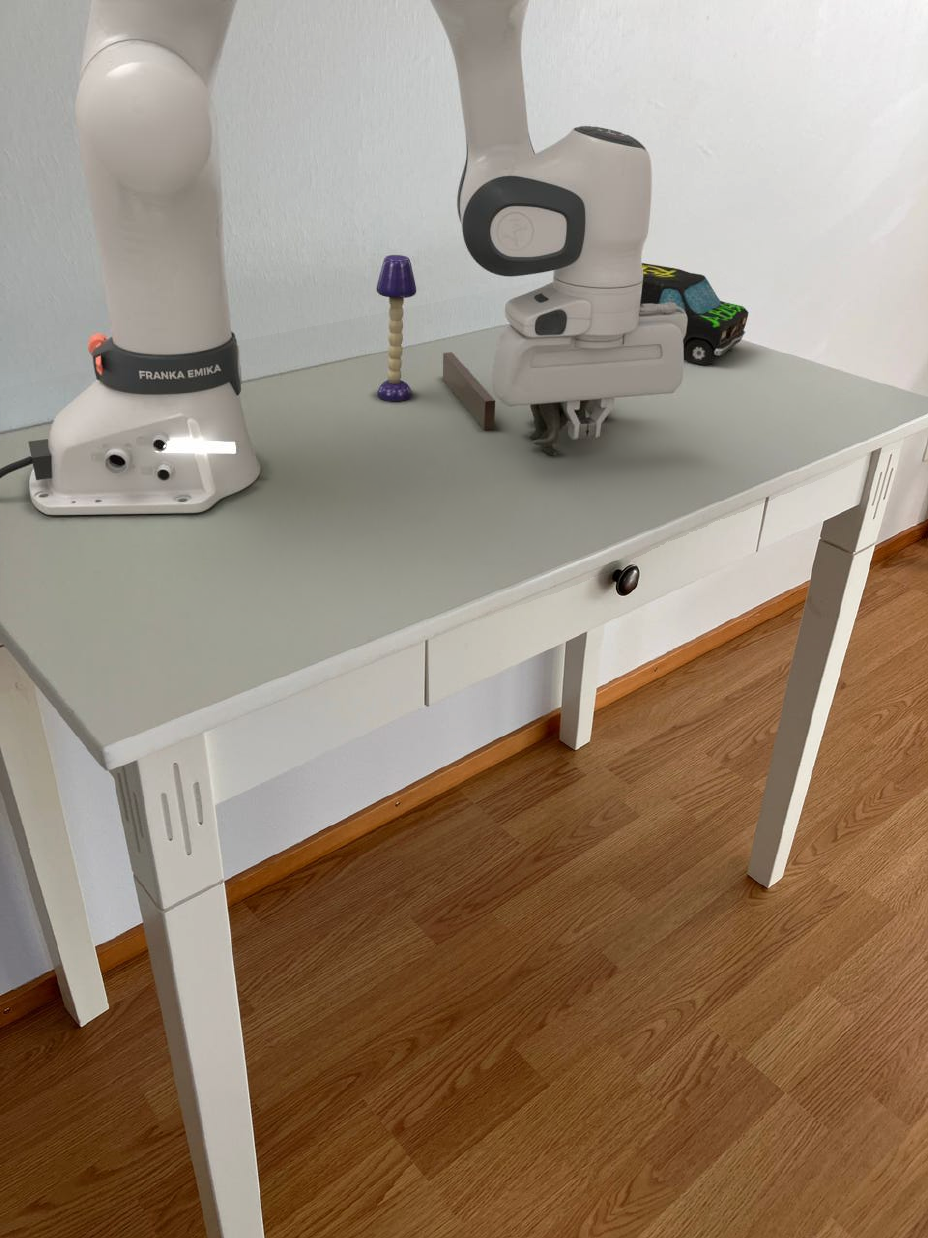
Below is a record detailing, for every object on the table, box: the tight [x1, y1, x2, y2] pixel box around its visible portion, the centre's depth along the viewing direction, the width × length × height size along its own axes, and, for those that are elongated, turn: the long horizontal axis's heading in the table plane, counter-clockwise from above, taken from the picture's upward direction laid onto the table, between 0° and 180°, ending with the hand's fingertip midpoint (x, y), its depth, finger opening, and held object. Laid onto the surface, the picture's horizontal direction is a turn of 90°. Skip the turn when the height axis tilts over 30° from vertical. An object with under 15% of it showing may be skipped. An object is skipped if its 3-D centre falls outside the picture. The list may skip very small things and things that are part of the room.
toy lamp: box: [376, 254, 417, 402], centre depth 122 cm, size 5×5×17 cm
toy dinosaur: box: [528, 400, 589, 456], centre depth 113 cm, size 22×8×11 cm, turn 147°
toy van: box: [640, 262, 750, 366], centre depth 146 cm, size 11×25×10 cm, turn 57°
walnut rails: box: [442, 351, 609, 431], centre depth 126 cm, size 15×18×4 cm
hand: (583, 436), depth 110 cm, fingers closed
